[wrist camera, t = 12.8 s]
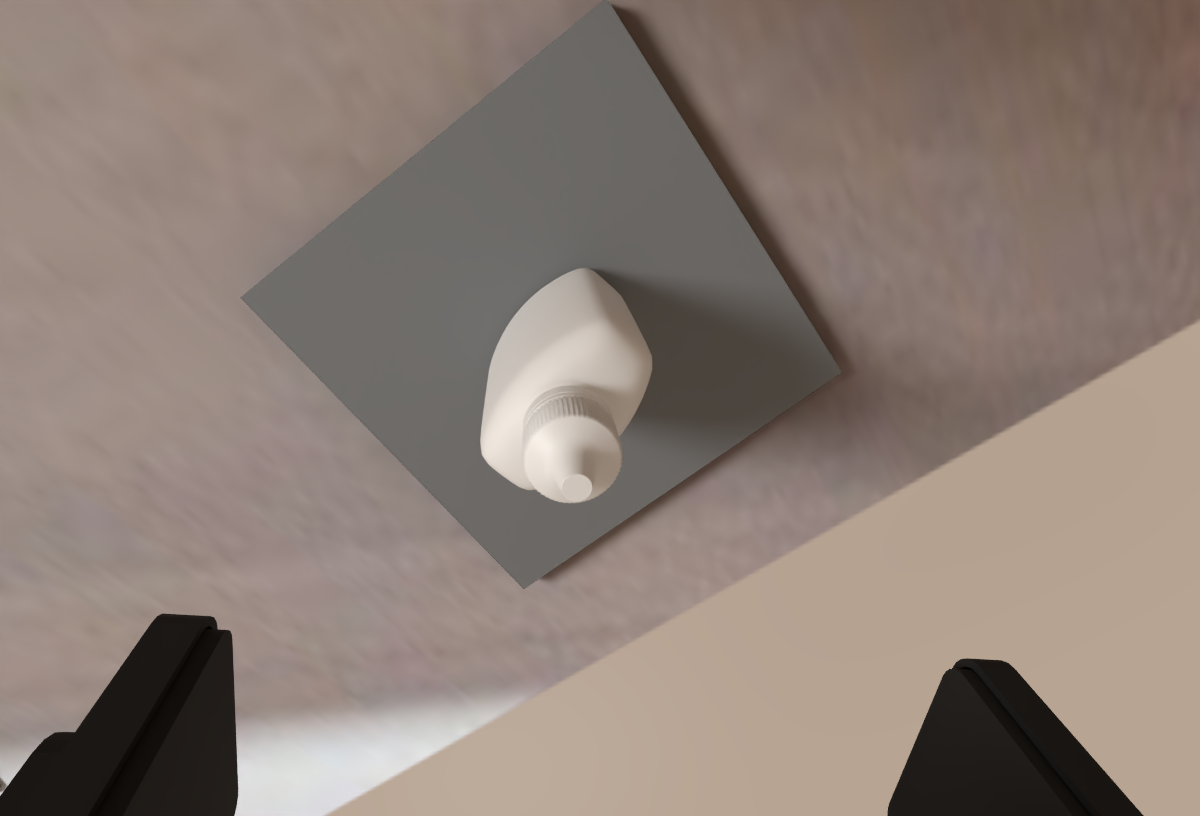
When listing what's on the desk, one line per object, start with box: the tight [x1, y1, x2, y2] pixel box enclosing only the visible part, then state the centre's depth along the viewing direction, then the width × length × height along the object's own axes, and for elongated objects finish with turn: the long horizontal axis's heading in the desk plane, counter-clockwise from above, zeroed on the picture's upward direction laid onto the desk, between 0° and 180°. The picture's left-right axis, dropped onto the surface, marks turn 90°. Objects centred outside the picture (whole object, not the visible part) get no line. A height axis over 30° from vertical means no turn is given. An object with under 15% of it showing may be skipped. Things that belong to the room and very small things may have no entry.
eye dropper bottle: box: [480, 268, 652, 504], centre depth 22 cm, size 4×6×12 cm
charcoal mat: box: [241, 0, 842, 589], centre depth 28 cm, size 16×16×1 cm
